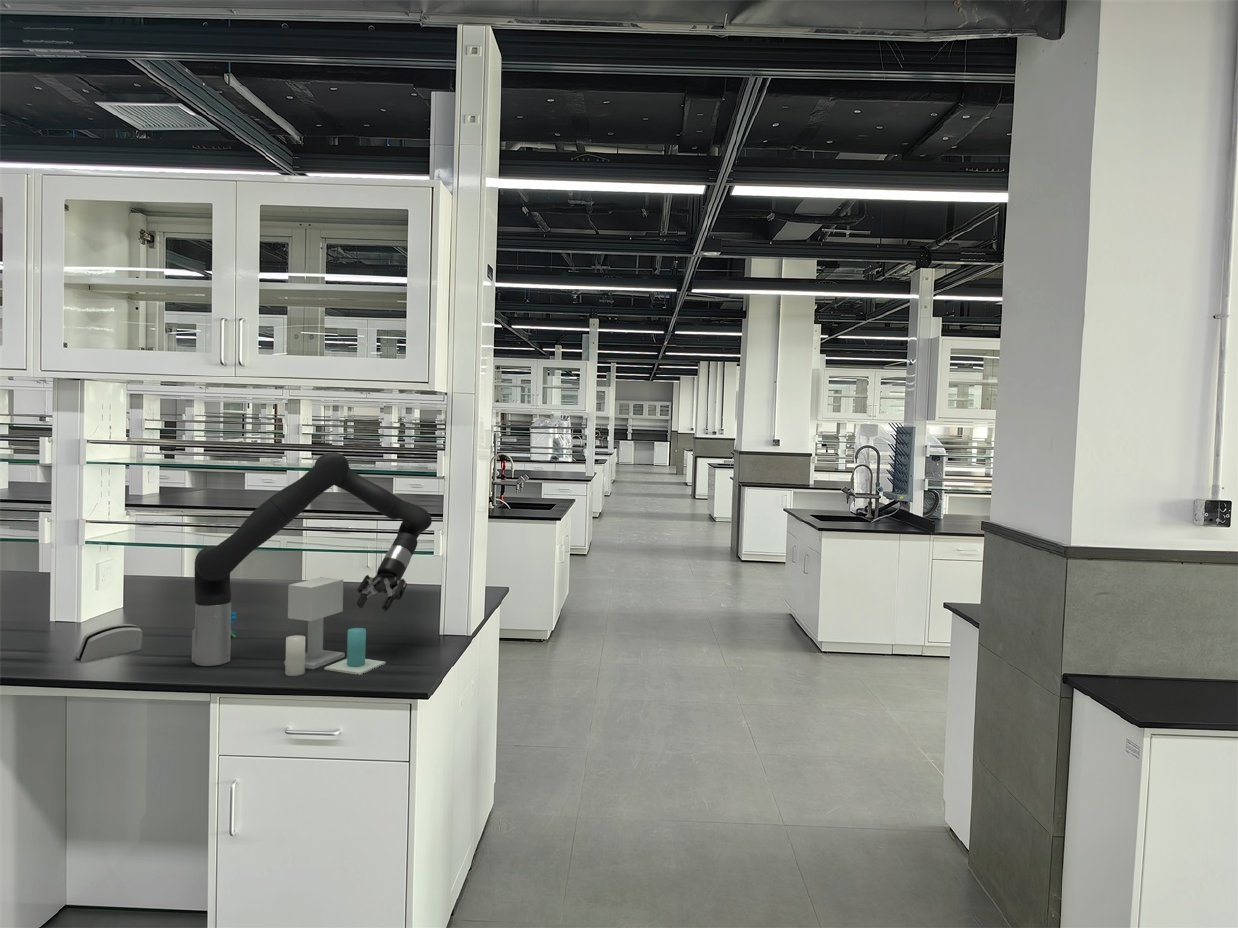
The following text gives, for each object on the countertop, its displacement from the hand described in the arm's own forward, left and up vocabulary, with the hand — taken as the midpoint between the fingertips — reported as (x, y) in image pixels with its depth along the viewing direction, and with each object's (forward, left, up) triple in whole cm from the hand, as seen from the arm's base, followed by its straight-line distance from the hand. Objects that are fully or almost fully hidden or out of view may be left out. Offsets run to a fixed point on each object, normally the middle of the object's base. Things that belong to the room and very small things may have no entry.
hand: (371, 608), depth 240 cm
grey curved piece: (-70, -27, -16) cm, 77 cm away
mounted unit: (-14, -7, -16) cm, 22 cm away
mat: (0, -7, -16) cm, 17 cm away
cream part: (-11, -19, -16) cm, 27 cm away
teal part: (0, -7, -15) cm, 16 cm away
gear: (-58, +3, -16) cm, 60 cm away
